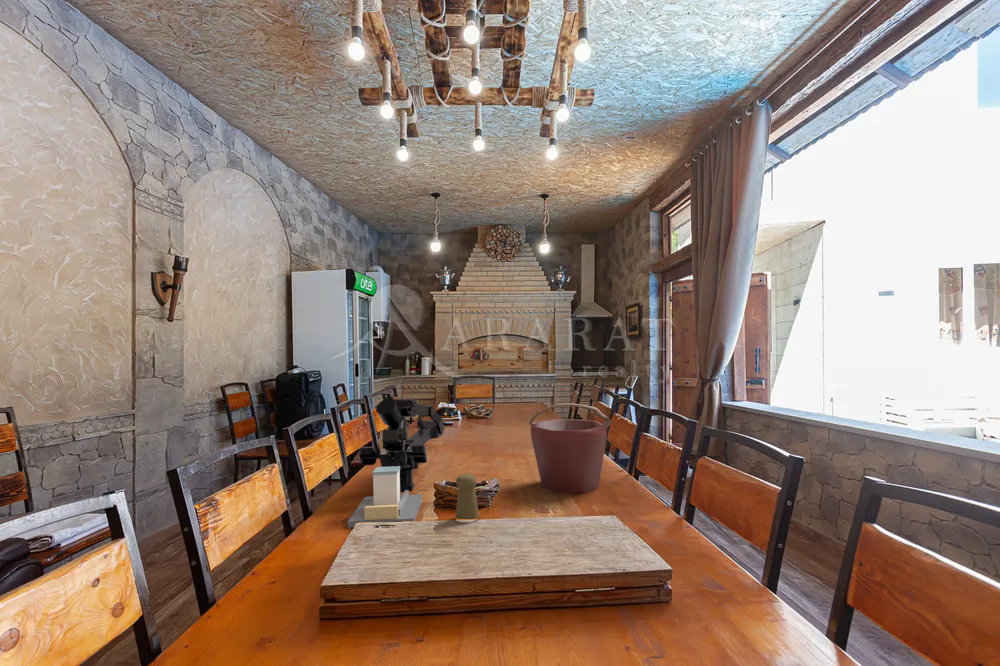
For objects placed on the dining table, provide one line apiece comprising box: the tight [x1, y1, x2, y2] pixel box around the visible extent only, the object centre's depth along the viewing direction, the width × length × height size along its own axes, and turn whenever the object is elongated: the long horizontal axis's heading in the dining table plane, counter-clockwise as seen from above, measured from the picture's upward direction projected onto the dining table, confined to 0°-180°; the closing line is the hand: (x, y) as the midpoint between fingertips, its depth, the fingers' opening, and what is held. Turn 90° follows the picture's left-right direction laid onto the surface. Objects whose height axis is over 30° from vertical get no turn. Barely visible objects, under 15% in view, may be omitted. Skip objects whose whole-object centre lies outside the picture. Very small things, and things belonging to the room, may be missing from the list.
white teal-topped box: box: [372, 466, 401, 506], centre depth 127 cm, size 5×6×10 cm
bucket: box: [529, 403, 612, 494], centre depth 148 cm, size 24×22×25 cm
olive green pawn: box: [454, 473, 480, 519], centre depth 122 cm, size 6×6×11 cm
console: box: [347, 490, 423, 529], centre depth 128 cm, size 20×16×4 cm
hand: (390, 481), depth 133 cm, fingers closed
